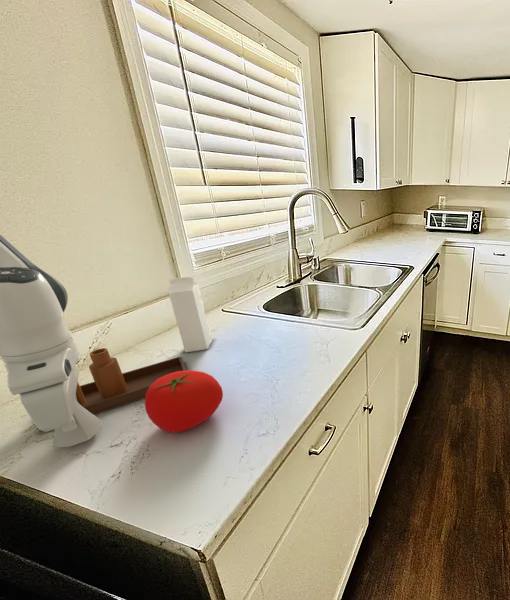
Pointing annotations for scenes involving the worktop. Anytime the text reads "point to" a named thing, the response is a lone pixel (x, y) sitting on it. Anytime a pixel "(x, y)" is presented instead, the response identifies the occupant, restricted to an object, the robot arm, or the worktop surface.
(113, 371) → the spice bottle
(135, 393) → the tray
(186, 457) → the worktop surface
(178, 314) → the milk
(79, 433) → the flask
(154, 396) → the tomato
